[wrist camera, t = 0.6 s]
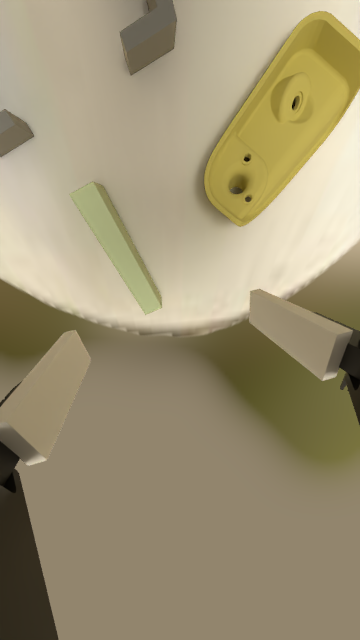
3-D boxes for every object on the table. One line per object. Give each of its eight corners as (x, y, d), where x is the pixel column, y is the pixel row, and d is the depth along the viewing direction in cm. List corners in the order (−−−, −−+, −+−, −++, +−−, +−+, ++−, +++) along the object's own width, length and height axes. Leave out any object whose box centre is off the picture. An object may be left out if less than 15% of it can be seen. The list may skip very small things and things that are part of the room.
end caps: (140, -87, 15) (136, -158, 12) (173, 48, 19) (176, 19, 16) (-67, 69, 18) (-109, 42, 15) (0, 157, 22) (-24, 149, 19)
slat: (83, 196, 26) (69, 194, 21) (103, 186, 25) (92, 181, 21) (146, 302, 36) (145, 314, 32) (161, 296, 36) (162, 307, 32)
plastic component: (314, -2, 17) (387, 64, 17) (285, 80, 24) (336, 126, 24) (189, 184, 23) (244, 232, 23) (195, 206, 30) (236, 243, 30)
